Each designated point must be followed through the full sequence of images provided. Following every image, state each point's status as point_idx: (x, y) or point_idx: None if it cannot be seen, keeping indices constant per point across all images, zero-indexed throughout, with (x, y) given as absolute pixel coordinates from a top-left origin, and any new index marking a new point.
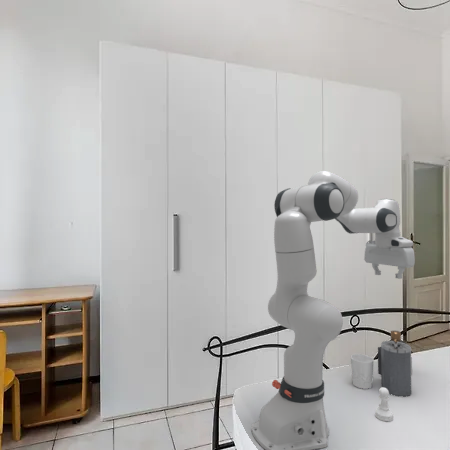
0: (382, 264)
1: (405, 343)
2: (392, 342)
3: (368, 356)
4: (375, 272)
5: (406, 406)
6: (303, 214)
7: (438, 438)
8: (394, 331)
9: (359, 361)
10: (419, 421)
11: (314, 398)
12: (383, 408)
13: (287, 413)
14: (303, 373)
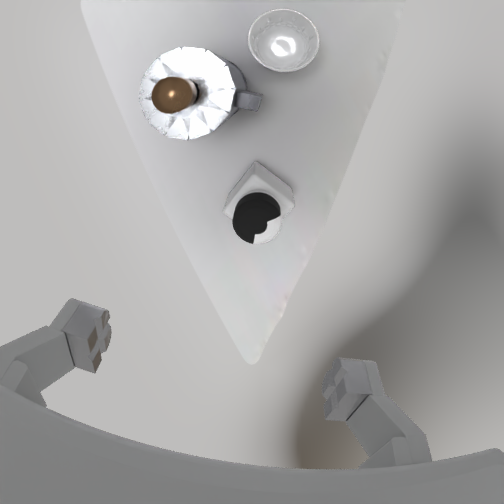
0: (255, 465)
1: (238, 231)
2: (207, 110)
3: (279, 69)
4: (371, 377)
5: (163, 41)
6: None
7: (89, 5)
8: (176, 97)
9: (272, 10)
10: (125, 17)
11: None
12: None
13: None
14: None
